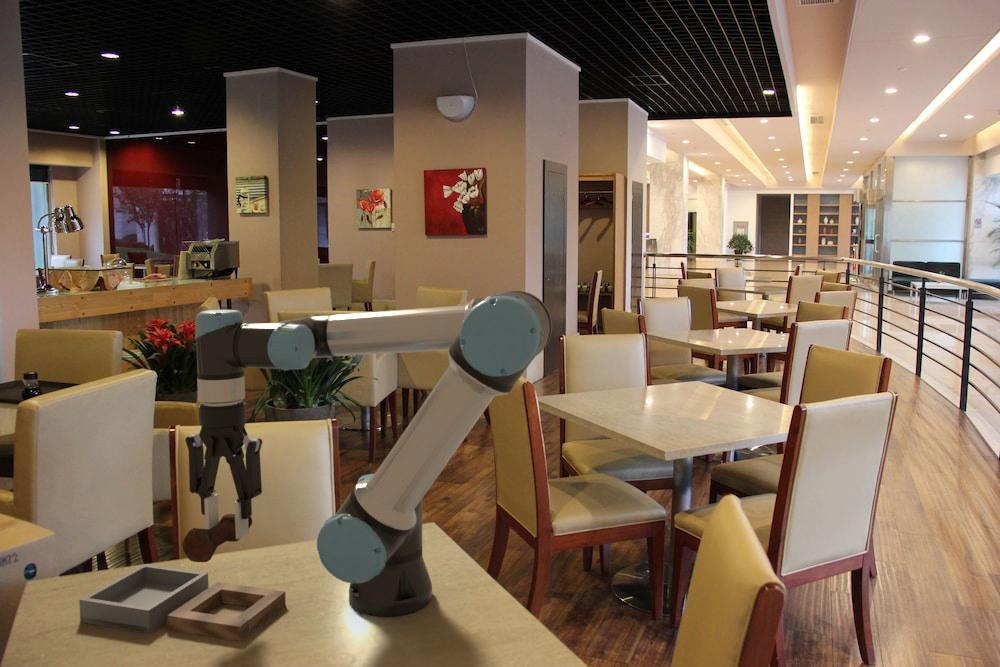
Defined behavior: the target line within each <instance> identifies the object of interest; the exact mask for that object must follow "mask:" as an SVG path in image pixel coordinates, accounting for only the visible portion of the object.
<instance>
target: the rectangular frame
mask: <svg viewBox="0 0 1000 667" xmlns="http://www.w3.org/2000/svg"><path fill="white" fill-rule="evenodd" d="M223 603H224V604H229V605H238V606H243V607H248V608H247V609H246V610H244V611H242V613H241V614H239V615H237V617H231V616H225V615H218V614H212V613H210V611H212V610H213V609H215V608H216V607H218V606H219V605H220V604H223ZM286 604H287V603H286V591H284V590H278V589H277V590H276V589H271V588H263V587H255V586H247V585H241V584H236V583H235V584H233V583H228V582H220V581H217V582H215V583H214V584H212V585H210V586H209V588H208V589H206V590H205V591H203V592H202V593H200V594H199V595H197V596H196V597H194V598H193V599H191V600H190V601H188V602H187V603H185V604H184V605H182V606H181V607H179V608H178V609H176V610H175V611H173V612H172V613H170V614H169V615H167V622H166V623H167V630H168V631H172V632H180V633H181V632H182V633H186V634H192V635H199V636H204V637H211V638H218V639H224V640H229V641H236V642H242V641H243V640H244V639H246V638H247V637H248V636H249V635H250V634H252V633H253V632H254V631H256V630H257V629H258V628H259V627H260V626H261V625H263V624H264V623H265V622H267V621H268V620H269V619H270V618H271V617H272V616H274V615H275V614H276V613H277V612H279V611H280V610H281V609H283V607H285V606H286Z"/></svg>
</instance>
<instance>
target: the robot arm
mask: <svg viewBox="0 0 1000 667" xmlns="http://www.w3.org/2000/svg"><path fill="white" fill-rule="evenodd" d="M552 332H553V320H552V315H551V313H550V311H549V309H548V307H547V306H546V304H545V303H544V302H543V301H542V300H541V299H540V298H539V297H537V296H536V295H534V294H532V293H530V292H528V291H523V290H521V291H520V290H512V291H507V292H504V293H499V294H492V295H490V296H487V297H479V298H478V297H477V298H473V299H471V301H470V303H468V304H464V305H461V304H460V305H451V306H450V305H449V306H436V307H433V306H432V307H424V308H423V307H422V308H407V309H406V308H405V309H396V310H395V309H394V310H393V309H392V310H381V311H366V312H365V311H364V312H353V313H351V312H350V313H340V314H337V313H336V314H331V315H330V314H325V315H324V314H309V315H305V316H302V317H298V318H293V319H288V320H283V321H278V322H269V323H265V322H263V323H260V322H258V323H256V322H253V323H251V322H244V318H243V313H242V311H240V310H236V309H210V310H203V311H202V310H201V311H200V312H199V313H197V315H196V317H195V336H194V340H195V352H196V364H197V365H196V366H197V367H196V368H197V378H196V379H197V380H196V381H197V400H198V401H199V402H200V404H199V405H198V423H199V425H200V427H201V428H200V431H199V433H194V434H192V435H189V436H186V438H185V444H186V446H187V450H188V473H189V474H188V475H189V476H188V477H189V478H188V479H189V482H188V483H189V485H188V486H189V492H190V493H192V494H197V495H198V497H200V510H201V515H203V516H204V521H205V522H204V523H205V528H204V529H211V528H212V527H214V526H216V525H218V523H219V521H220V519H219V495H218V493H215V492H216V489H215V485H216V480H217V475H218V470H219V466H220V461H221V460H220V459H221V458H222V457H224V458H225V461H226V463H227V464H228V466H229V468H230V473H231V476H232V480H233V482H234V486H235V490H236V494H237V499H235V501H234V504H233V505H234V514H235V530H236V539H240V540H241V539H243V538H245V537H246V536H247V535H249V533H250V530H249V529H250V528H249V526H248V518H249V517H251V518H252V514H253V512H252V511H253V509H252V506H253V504H252V500H253V498H256V497H258V496H260V495H261V494H262V493H263V490H262V489H263V486H262V468H261V466H262V465H261V449H262V445H263V440H262V438H260V437H258V438H253V437H251V436H249V435H248V433H247V431H246V429H245V428H246V426H245V425H246V421H247V412H246V411H247V410H246V409H247V408H246V402H245V401H244V399H245V398H246V389H245V386H246V385H245V369H249V368H250V369H251V368H252V369H268V370H269V369H270V370H271V369H272V370H282V371H290V370H303V369H306V368H307V367H308V366H309V365H310V363H311V362H312V361H313V359H317V358H335V357H346V356H348V357H349V356H362V355H363V356H365V355H381V354H382V355H384V354H398V353H402V354H403V353H417V352H418V353H421V352H435V351H437V352H439V351H447V357H448V363H449V366H448V367H447V369H446V370H445V371H444V373H443V374H442V376H441V377H440V378H439V380H438V382H437V383H436V385H435V386H434V387H433V388H432V390H431V392H430V393H429V395H428V396H427V397H426V399H425V400H424V402H423V403H422V405H421V406H420V408H419V409H418V410H417V412H416V413H415V415H414V417H413V418H412V419H411V421H410V422H409V424H408V425H407V427H406V428H405V429H404V431H403V432H402V433H401V435H400V436H399V438H398V439H397V442H396V443H395V444H394V445H393V447H392V449H391V450H390V451H389V453H388V454H387V456H386V457H385V458H384V460H383V461H382V463H381V464H380V466H379V467H378V469H377V470H376V471H375V473H370V474H364V475H362V476H360V477H359V478H358V480H357V483H356V484H355V486H354V488H353V489H352V490H351V491H350V493H349V495H348V496H347V497H346V498H345V500H344V502H343V503H342V505H341V506H340V508H339V509H338V511H337V512H336V513H335V514H333V516H330V517H329V518H328V519H326V521H325V522H324V523H323V525H322V526H321V528H320V529H319V531H318V534H317V538H316V550H317V552H318V555H319V556H318V557H319V560H320V562H321V564H322V566H324V567H323V568H325V570H326V571H327V572H328V573H329V574H331V575H332V577H334V578H336V579H338V580H340V581H342V582H345V583H348V584H349V586H348V602H349V605H350V606H351V607H352V608H353V609H355V610H356V611H357V612H360V613H363V614H367V615H371V616H376V617H377V616H378V617H394V616H401V615H407V614H410V613H413V612H417V611H419V610H421V609H424V608H425V607H426V606H427V605H428V604H429V603H430V602H431V601H432V598H433V585H432V581H431V576H430V575H429V571H428V568H427V566H426V563H425V560H424V557H423V498H424V497H425V495H426V494H427V493H428V491H429V490H430V488H431V486H432V485H433V484H434V483H435V481H436V480H437V479H438V478H439V476H440V474H441V473H442V471H443V470H444V468H445V467H446V465H447V464H448V462H449V461H450V460H451V459H452V457H453V456H454V454H455V452H456V451H457V450H458V448H459V447H460V445H461V444H462V443H463V442H464V440H465V439H466V437H468V435H469V433H470V432H471V431H472V429H473V428H474V426H475V425H476V423H477V422H478V421H479V419H480V418H481V416H482V415H483V414H484V412H485V411H486V410H487V407H488V406H489V405H490V403H491V402H492V401H493V400H494V398H495V397H498V396H505V395H508V394H509V393H510V392H511V391H512V389H513V388H514V386H515V385H516V384H517V382H518V381H519V379H520V378H521V377H522V376H523V374H524V373H525V371H526V369H527V368H528V367H529V366H530V365H531V363H532V362H533V360H534V359H535V358H536V357H537V356H538V355H540V354H541V353H542V351H544V349H545V348H546V347H547V346H548V343H549V341H550V339H551V336H552ZM204 446H205V447H206V448H205V449H204ZM243 447H244V448H243ZM243 449H244V450H245V454H244V451H243ZM204 450H205V452H204ZM244 458H245V461H244ZM204 460H205V461H204Z"/></svg>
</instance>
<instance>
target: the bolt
mask: <svg viewBox="0 0 1000 667" xmlns="http://www.w3.org/2000/svg"><path fill="white" fill-rule="evenodd" d="M252 524H253V519H252V516H251V517H249V518H248V526H249V529H251V526H252ZM240 540H241V539H236V530H235V513H226V514H224V515H222V516H221V518H220V519H219V523H218V525H216V526H214V527H212V528H211V529H206V528H199V527H198V528H197V527H195V528H194V527H193V528H192V529H190V530H188V532H187V533H186V535H185V537H184V539H183V541H182V544H181V546H182V549H183V550H182V551H183V553H184V555H185V557H186V558H187V559H188V560H189V561H190V562H193V563H207V562H210V561H211V560H212V557H213V555H214V554H215V552H216V550H217V548H218V547H219V546H221V545H222V544H224V543H226V542H233V543H234V542H238V541H240Z"/></svg>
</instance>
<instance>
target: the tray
mask: <svg viewBox="0 0 1000 667" xmlns="http://www.w3.org/2000/svg"><path fill="white" fill-rule="evenodd" d="M209 587H210V586H209V573H208V572H203V571H197V570H188V569H181V568H175V567H167V566H160V565H152V564H147V563H146V564H145V563H144V564H142V565H140V566H138V567H137V568H135V569H132V570H131V571H129V572H128V573H125V574H123V575H122V576H120V577H119V578H117V579H115V580H112V581H111V582H108V583H107V584H105V585H104V586H102V587H100V588H98V589H96V590H95V591H92V592H91V593H89V594H87V595H86V596H84V597H82V598H79V600H78V601H79V604H78V605H79V621H80V623H84V624H90V625H95V626H103V627H107V628H113V629H114V628H115V629H118V630H119V629H120V630H121V629H122V630H127V631H132V632H140V633H146V634H151V633H152V632H154V631H155V630H158V629H159V628H160V627H162V625H163V626H164V624H166V623H167V615H169V614H170V613H172V612H173V611H175V610H176V609H178V608H179V607H181V606H182V605H184V604H185V603H187V602H188V601H190V600H191V599H193V598H194V597H196V596H197V595H199V594H200V593H202V592H203V591H205V590H206V589H208V588H209Z"/></svg>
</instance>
